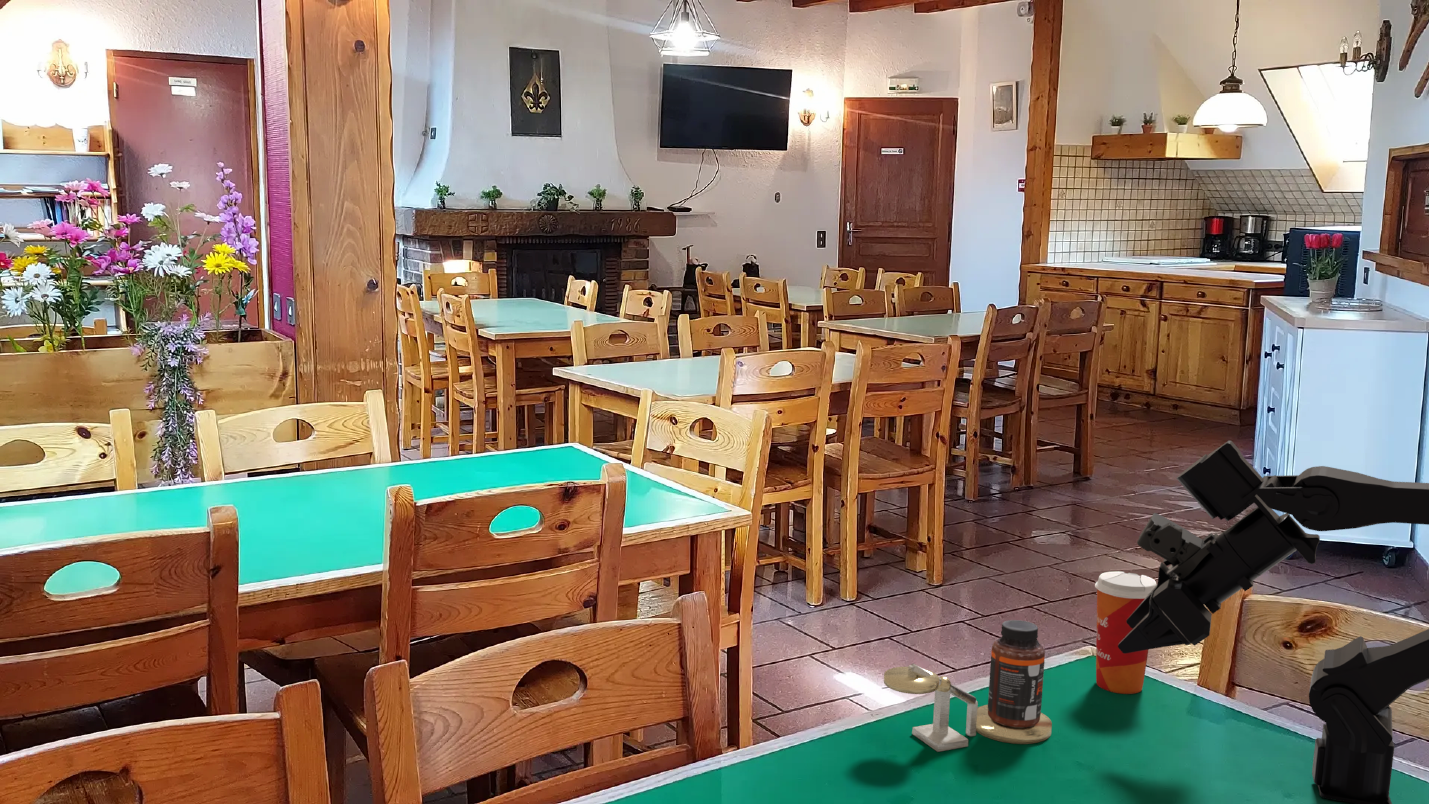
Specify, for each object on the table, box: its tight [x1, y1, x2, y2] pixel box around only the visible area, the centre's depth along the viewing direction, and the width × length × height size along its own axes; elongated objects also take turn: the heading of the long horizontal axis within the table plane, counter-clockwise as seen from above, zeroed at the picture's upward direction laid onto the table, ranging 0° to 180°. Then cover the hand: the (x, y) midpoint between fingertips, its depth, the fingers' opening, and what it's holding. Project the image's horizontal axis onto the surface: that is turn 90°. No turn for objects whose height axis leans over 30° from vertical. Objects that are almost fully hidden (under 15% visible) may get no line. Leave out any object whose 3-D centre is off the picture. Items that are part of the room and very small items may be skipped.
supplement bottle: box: [987, 619, 1046, 728], centre depth 140 cm, size 6×6×11 cm
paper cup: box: [1094, 570, 1158, 695], centre depth 153 cm, size 8×8×14 cm
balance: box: [883, 663, 1053, 753], centre depth 137 cm, size 22×9×9 cm, turn 114°
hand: (1124, 636), depth 135 cm, fingers open, 9 cm apart
